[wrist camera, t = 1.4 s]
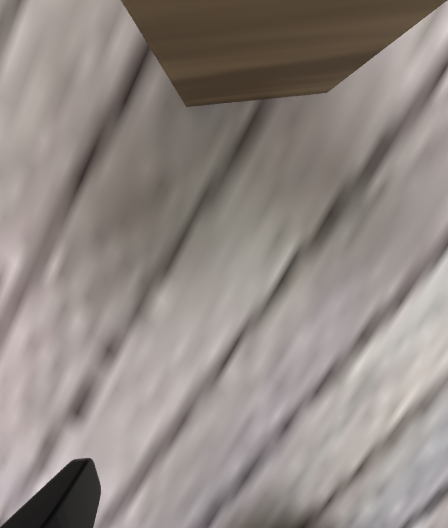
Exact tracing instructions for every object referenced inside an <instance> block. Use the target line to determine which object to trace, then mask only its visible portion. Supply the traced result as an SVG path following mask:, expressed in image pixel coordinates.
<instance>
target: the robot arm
mask: <svg viewBox="0 0 448 528" xmlns="http://www.w3.org/2000/svg"><path fill="white" fill-rule="evenodd" d="M100 495H101V486H100V481H99V478H98V475H97V471H96V468H95V464H94V462H93V460H92V459H91V458H82V459H75V460H72V461H71V462H70V463H68V464H67V465H66V466H65V467H64V468H63V469H62V470H61V471H60V472H59V473H58V474H57V475H56V476H55V477H53V478H52V479H51V480H50V481H49V482H48V483H47V484H46V485H45V486H44V487H43V488H42V489H41V490H40V491H38V492H37V493H36V494H35V495H34V496H33V497H32V498H31V499H30V500H29V501H28V502H27V503H26V504H24V505H23V506H22V507H21V508H20V509H19V510H18V511H17V512H16V513H15V514H14V515H13V516H12V517H11V518H9V519H8V520H7V521H6V522H5V523H4V524H3V525H2V526H1V527H0V528H93V526H94V522H95V518H96V513H97V509H98V505H99V500H100Z"/></svg>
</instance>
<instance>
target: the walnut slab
mask: <svg viewBox="0 0 448 528" xmlns="http://www.w3.org/2000/svg"><path fill="white" fill-rule="evenodd" d="M121 1H122V2H123V4H124V6H125V7H126V9H127V11H128V12H129V14H130V16H131V17H132V19H133V20H134V22H135V24H136V25H137V27H138V29H139V30H140V32H141V33H142V35H143V37H144V38H145V40H146V42H147V43H148V45H149V46H150V48H151V50H152V51H153V53H154V55H155V56H156V58H157V59H158V61H159V63H160V64H161V66H162V68H163V69H164V71H165V72H166V74H167V76H168V77H169V79H170V81H171V82H172V84H173V85H174V87H175V89H176V90H177V92H178V94H179V95H180V97H181V98H182V100H183V102H184V103H185V105H186V107H190V106H200V105H210V104H220V103H230V102H240V101H249V100H259V99H269V98H279V97H289V96H299V95H309V94H319V93H327V92H328V91H330V90H331V89H332V88H334V87H335V86H336V85H337V84H339V83H340V82H341V81H343V80H344V79H345V78H347V77H348V76H349V75H350V74H352V73H353V72H354V71H356V70H357V69H358V68H360V67H361V66H362V65H363V64H365V63H366V62H367V61H369V60H370V59H371V58H373V57H374V56H375V55H377V54H378V53H379V52H380V51H382V50H383V49H384V48H386V47H387V46H388V45H390V44H391V43H392V42H393V41H395V40H396V39H397V38H399V37H400V36H401V35H403V34H404V33H405V32H406V31H408V30H409V29H410V28H412V27H413V26H414V25H416V24H417V23H418V22H419V21H421V20H422V19H423V18H425V17H426V16H427V15H429V14H430V13H431V12H432V11H434V10H435V9H436V8H438V7H439V6H440V5H442V4H443V3H444V2H446V1H447V0H121Z"/></svg>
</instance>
